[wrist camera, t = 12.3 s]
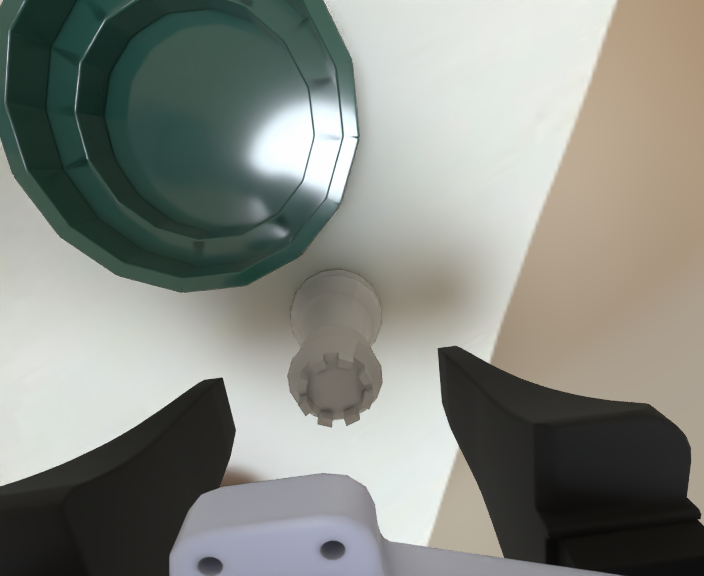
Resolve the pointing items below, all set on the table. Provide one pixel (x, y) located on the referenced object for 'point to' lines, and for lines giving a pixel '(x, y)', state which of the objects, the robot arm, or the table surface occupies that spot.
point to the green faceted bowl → (179, 130)
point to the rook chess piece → (335, 346)
